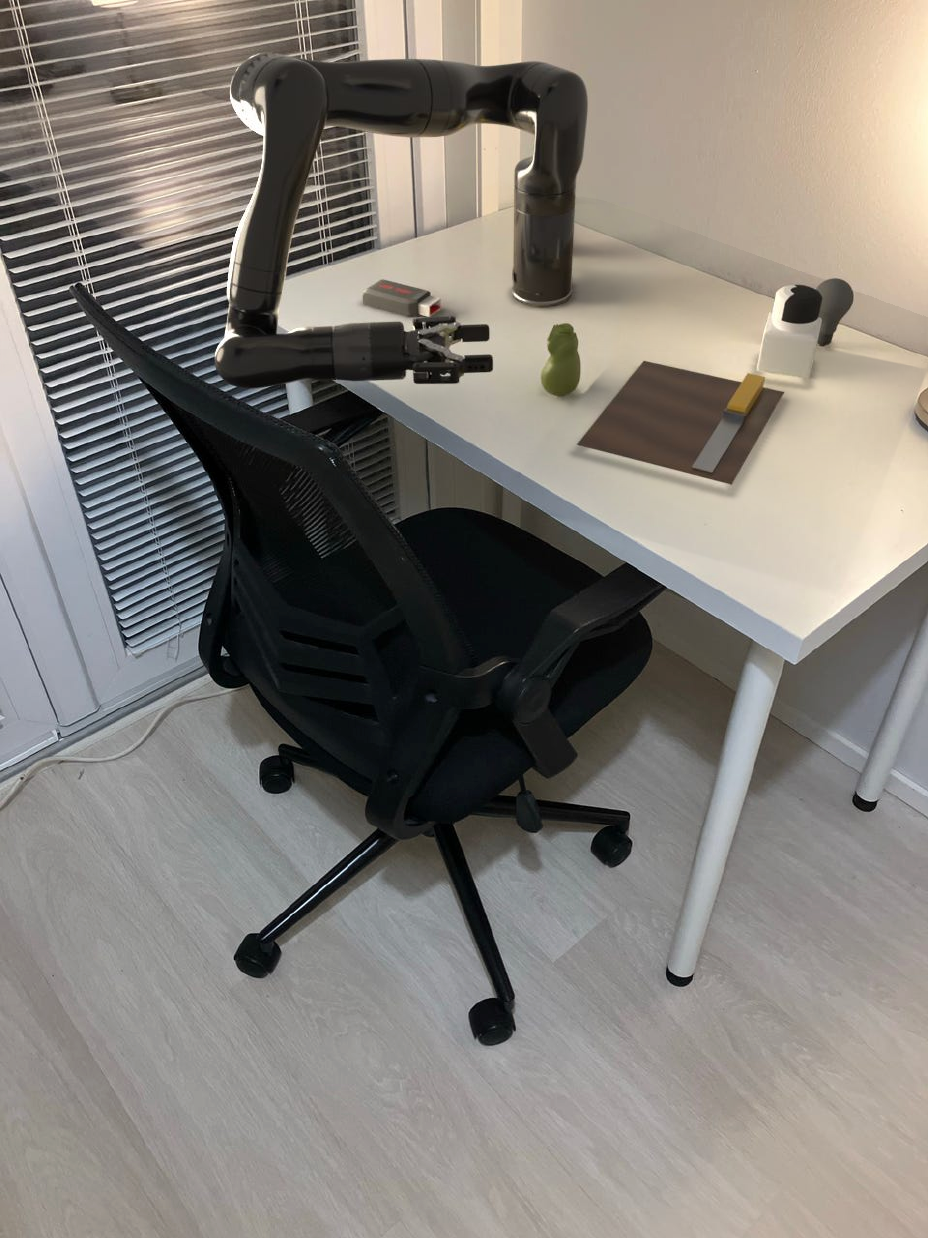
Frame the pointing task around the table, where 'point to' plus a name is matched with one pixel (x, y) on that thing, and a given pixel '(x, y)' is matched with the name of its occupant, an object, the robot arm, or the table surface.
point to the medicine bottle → (791, 332)
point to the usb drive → (401, 299)
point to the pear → (562, 361)
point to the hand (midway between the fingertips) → (491, 347)
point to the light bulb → (833, 307)
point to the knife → (730, 423)
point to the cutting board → (677, 420)
